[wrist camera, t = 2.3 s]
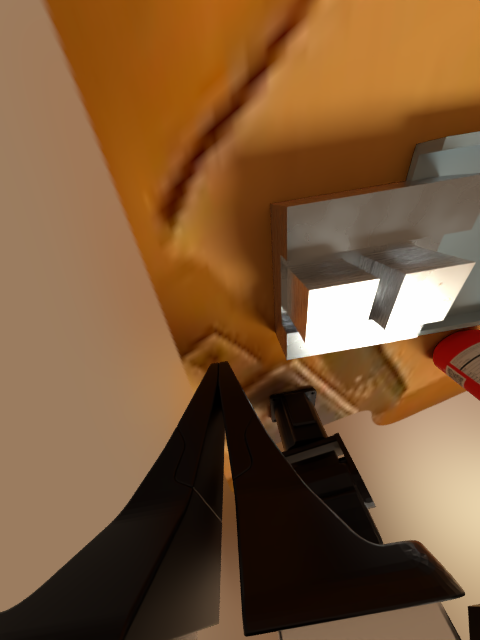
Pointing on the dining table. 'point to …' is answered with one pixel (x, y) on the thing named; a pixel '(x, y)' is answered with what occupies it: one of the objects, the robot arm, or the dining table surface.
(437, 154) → the tray
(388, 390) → the dining table surface
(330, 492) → the robot arm
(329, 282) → the grey cubic piece
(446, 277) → the brushed metal cube
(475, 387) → the beverage can
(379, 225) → the slot plate
